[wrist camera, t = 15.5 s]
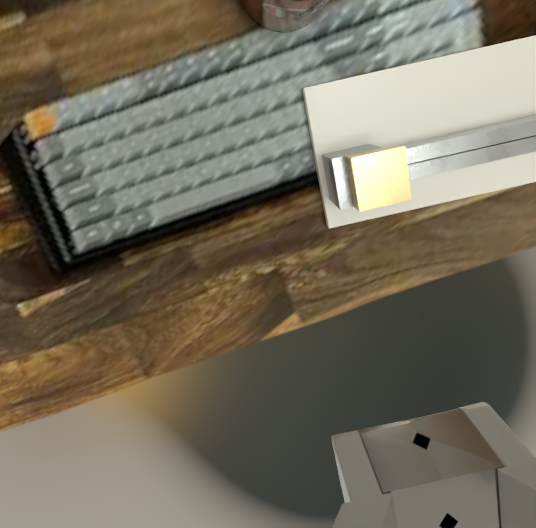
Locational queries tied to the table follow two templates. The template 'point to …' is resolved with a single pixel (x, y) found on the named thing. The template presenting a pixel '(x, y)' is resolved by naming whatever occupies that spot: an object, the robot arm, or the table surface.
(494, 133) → the tongs arm
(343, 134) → the cutting board
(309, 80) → the table surface
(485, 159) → the tongs
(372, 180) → the tab
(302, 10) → the soda can
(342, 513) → the robot arm
